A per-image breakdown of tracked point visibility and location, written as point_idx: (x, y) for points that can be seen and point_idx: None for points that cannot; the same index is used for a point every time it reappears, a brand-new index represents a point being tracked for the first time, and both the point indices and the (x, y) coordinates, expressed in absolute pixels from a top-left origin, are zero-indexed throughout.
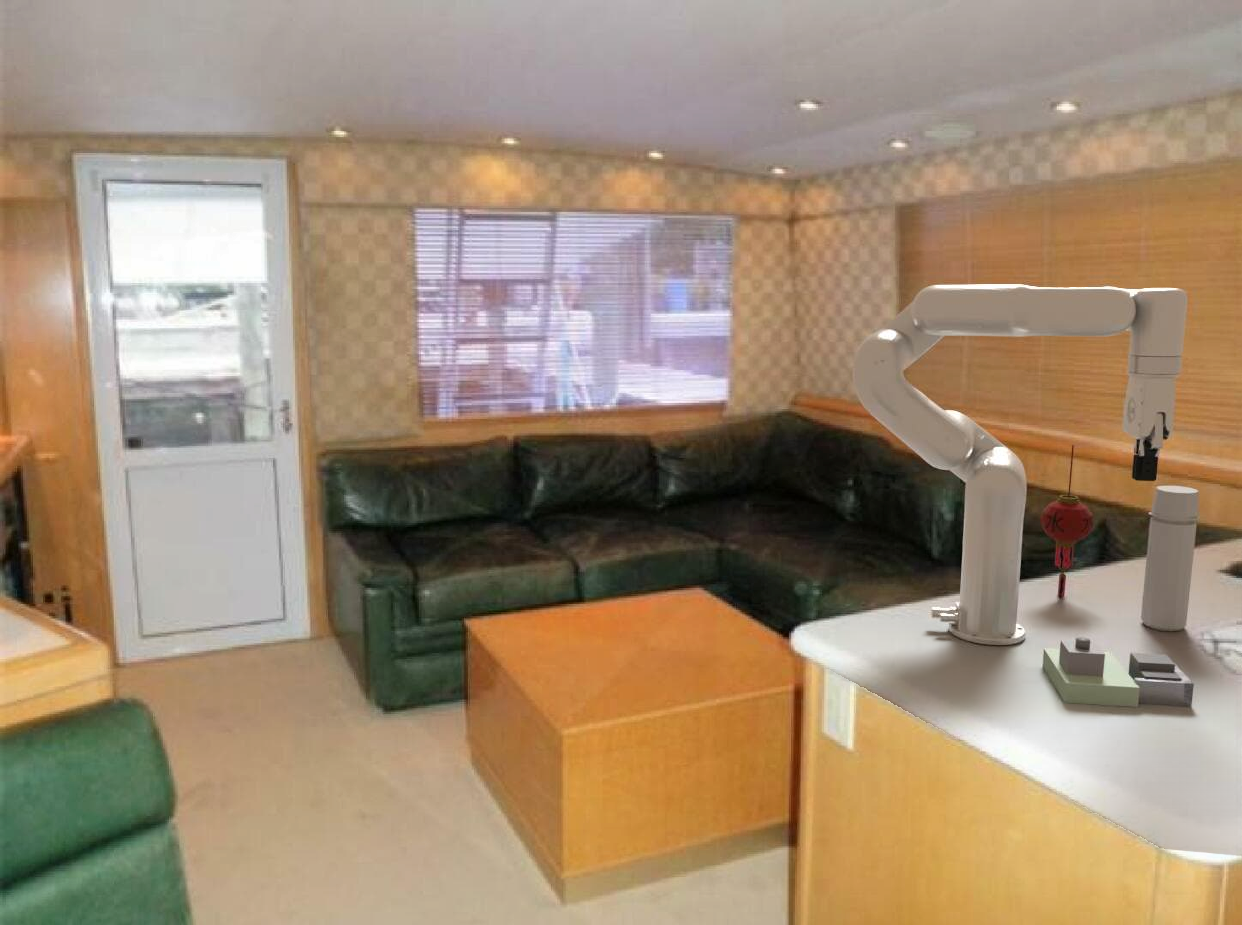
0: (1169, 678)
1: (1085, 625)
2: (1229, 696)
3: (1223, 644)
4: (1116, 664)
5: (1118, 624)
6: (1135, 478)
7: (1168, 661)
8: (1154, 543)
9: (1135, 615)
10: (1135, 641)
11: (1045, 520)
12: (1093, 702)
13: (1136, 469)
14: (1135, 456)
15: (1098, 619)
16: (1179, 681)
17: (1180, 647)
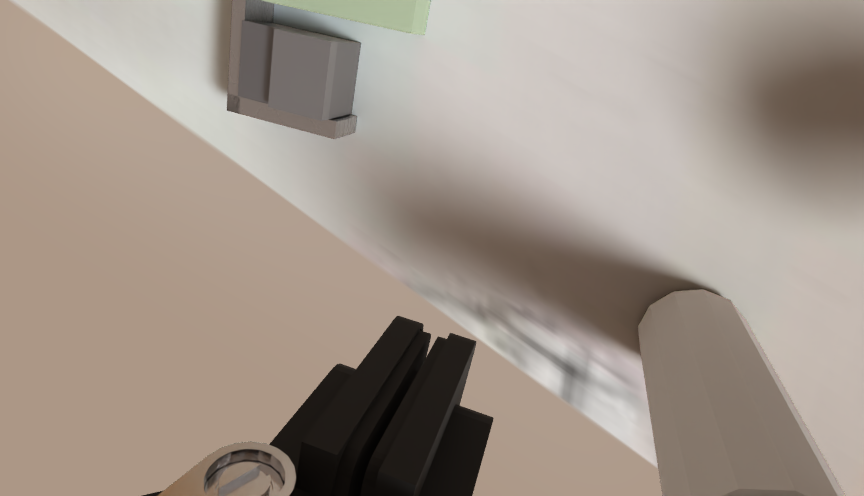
0: (239, 71)
1: (739, 138)
2: (301, 205)
3: (552, 374)
4: (336, 6)
5: (726, 232)
6: (396, 321)
7: (283, 102)
8: (740, 424)
9: (786, 317)
10: (596, 202)
11: None
12: None
13: (364, 362)
14: (385, 468)
15: (780, 202)
16: (236, 88)
17: (545, 278)
